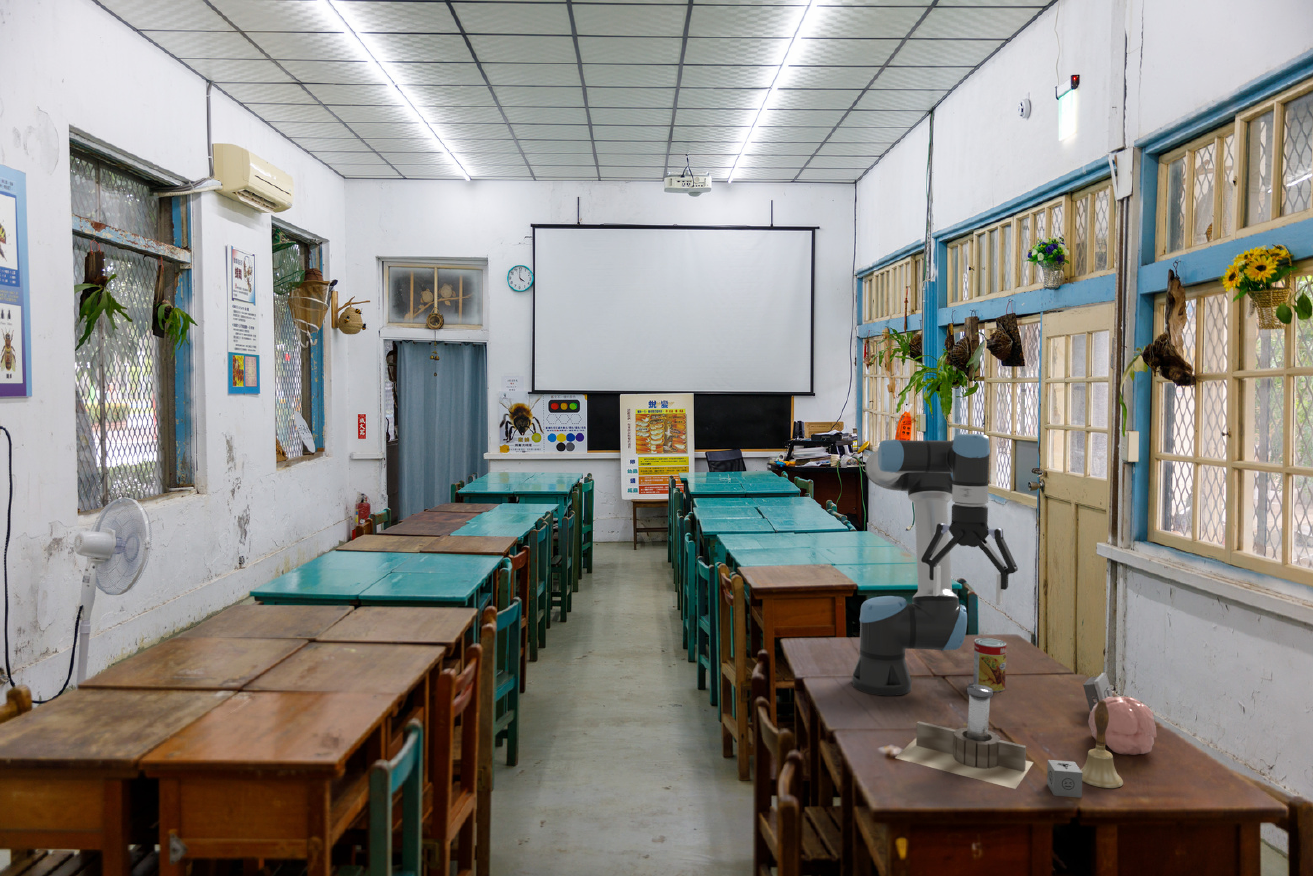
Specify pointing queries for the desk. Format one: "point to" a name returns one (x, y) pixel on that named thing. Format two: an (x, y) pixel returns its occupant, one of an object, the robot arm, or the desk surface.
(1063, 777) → the dice cube
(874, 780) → the desk surface
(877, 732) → the desk surface
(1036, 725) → the desk surface
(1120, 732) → the brain
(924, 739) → the hinge board
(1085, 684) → the electrical switch
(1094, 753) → the hand bell
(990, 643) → the canned food
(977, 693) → the pin
